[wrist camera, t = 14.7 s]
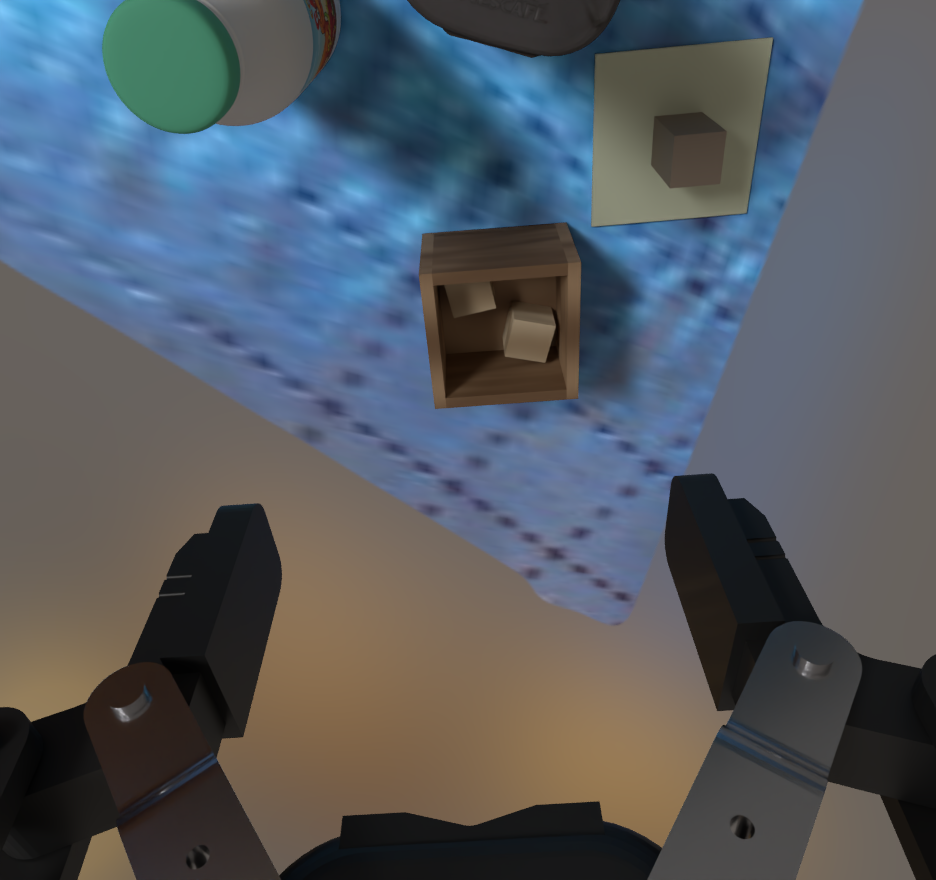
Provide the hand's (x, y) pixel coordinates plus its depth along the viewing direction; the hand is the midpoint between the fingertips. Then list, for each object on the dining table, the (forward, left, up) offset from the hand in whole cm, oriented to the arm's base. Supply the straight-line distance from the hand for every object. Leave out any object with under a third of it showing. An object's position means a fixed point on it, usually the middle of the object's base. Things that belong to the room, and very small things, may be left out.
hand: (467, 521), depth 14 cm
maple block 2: (+15, +4, -37) cm, 40 cm away
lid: (+3, +14, -39) cm, 41 cm away
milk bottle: (-6, -10, -38) cm, 40 cm away
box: (+13, +2, -38) cm, 40 cm away
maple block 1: (+11, 0, -37) cm, 39 cm away
